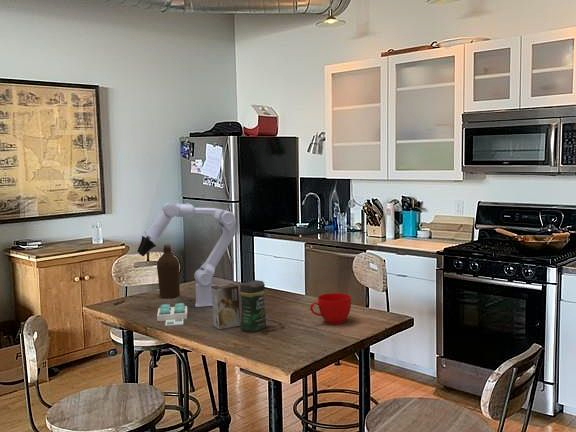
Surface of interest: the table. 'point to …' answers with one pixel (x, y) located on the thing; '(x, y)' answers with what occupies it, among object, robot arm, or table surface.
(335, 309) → the ceramic cup
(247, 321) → the coffee jar
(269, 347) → the table surface
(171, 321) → the card
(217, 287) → the coffee box
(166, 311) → the button
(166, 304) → the button
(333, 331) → the table surface
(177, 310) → the button
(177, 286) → the olive oil
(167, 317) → the button board
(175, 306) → the button
